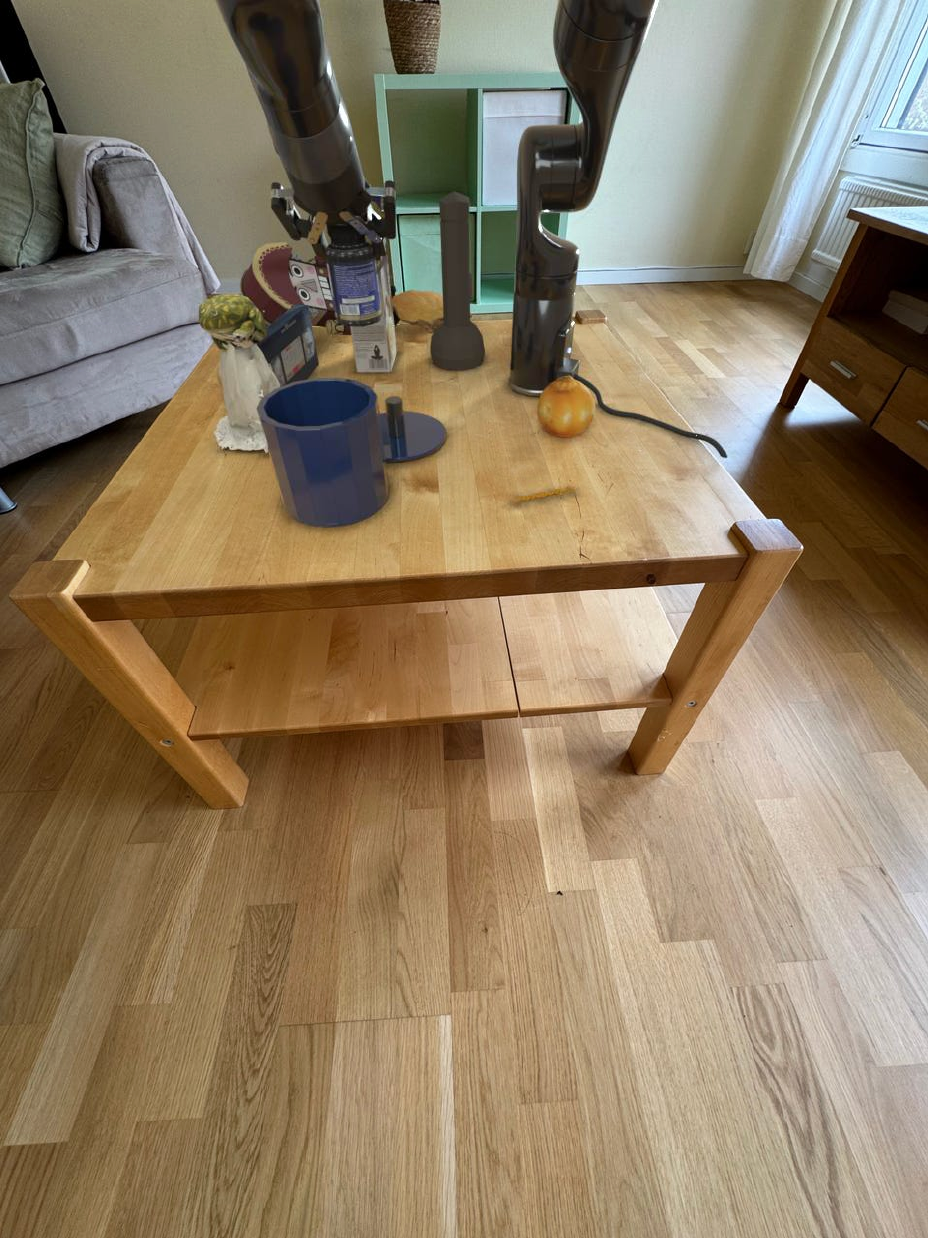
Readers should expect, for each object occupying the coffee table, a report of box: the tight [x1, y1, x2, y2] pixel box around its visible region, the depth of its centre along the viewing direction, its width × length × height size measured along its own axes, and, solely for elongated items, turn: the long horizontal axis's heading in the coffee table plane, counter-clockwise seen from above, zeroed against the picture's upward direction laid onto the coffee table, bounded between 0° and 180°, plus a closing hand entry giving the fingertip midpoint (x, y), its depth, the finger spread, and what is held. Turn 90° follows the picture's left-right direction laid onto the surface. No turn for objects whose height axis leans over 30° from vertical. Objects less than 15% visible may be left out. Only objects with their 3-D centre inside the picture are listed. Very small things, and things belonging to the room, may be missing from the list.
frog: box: [197, 293, 280, 454], centre depth 78 cm, size 12×13×18 cm
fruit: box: [536, 376, 596, 438], centre depth 82 cm, size 8×8×8 cm
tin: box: [257, 377, 389, 528], centre depth 68 cm, size 13×13×12 cm
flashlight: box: [429, 190, 486, 371], centre depth 95 cm, size 10×25×10 cm
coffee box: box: [350, 254, 398, 373], centre depth 98 cm, size 9×6×16 cm
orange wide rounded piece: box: [392, 289, 474, 334], centre depth 113 cm, size 17×4×10 cm
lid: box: [379, 395, 447, 463], centre depth 81 cm, size 14×14×6 cm
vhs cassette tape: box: [257, 304, 320, 387], centre depth 93 cm, size 18×3×10 cm, turn 167°
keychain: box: [514, 486, 573, 503], centre depth 72 cm, size 8×1×1 cm, turn 109°
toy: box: [239, 241, 401, 336], centre depth 102 cm, size 14×13×30 cm
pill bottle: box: [325, 224, 382, 327], centre depth 72 cm, size 6×6×11 cm
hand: (352, 253), depth 72 cm, fingers closed on pill bottle, 6 cm apart
